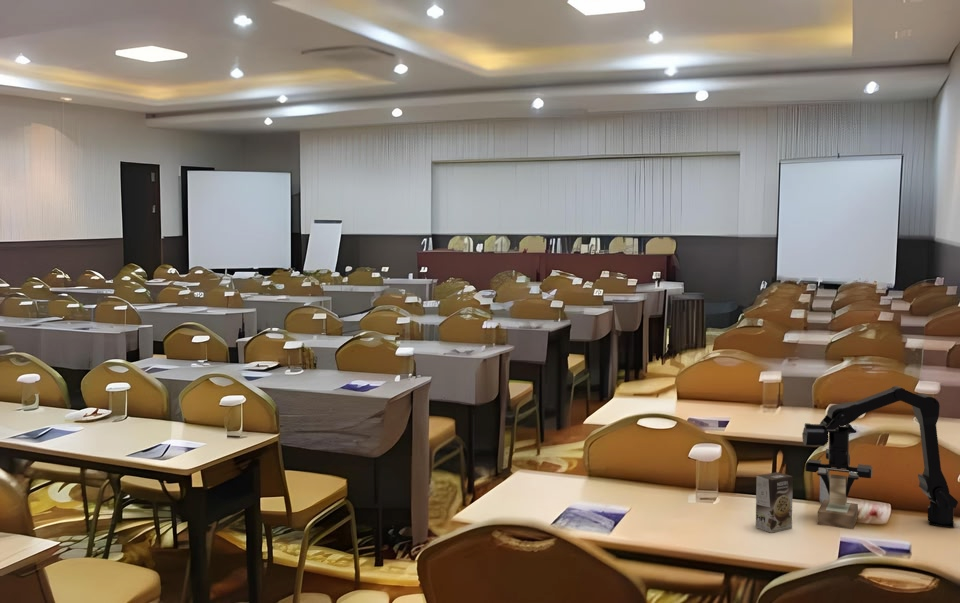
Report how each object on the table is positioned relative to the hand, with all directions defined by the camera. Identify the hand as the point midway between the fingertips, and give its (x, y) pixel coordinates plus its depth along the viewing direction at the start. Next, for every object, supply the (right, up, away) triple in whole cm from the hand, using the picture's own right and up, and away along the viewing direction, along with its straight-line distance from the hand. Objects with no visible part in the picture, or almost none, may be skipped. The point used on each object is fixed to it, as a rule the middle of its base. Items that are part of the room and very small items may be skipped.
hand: (838, 495), depth 254 cm
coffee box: (-22, -8, -6) cm, 25 cm away
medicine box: (+5, -7, +16) cm, 18 cm away
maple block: (0, -2, 0) cm, 2 cm away
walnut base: (0, -8, 0) cm, 8 cm away
